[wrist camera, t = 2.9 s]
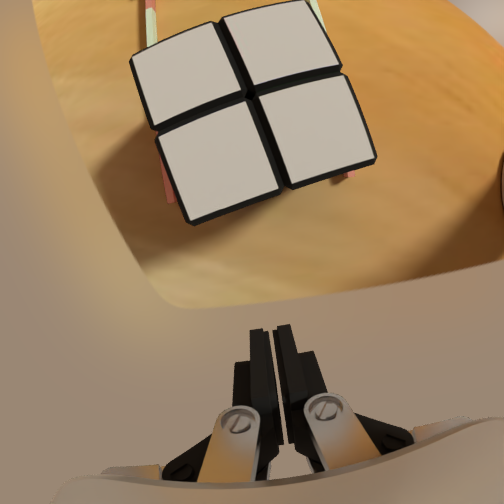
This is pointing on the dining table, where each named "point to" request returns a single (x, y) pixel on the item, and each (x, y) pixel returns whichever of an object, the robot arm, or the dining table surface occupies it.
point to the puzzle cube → (250, 109)
